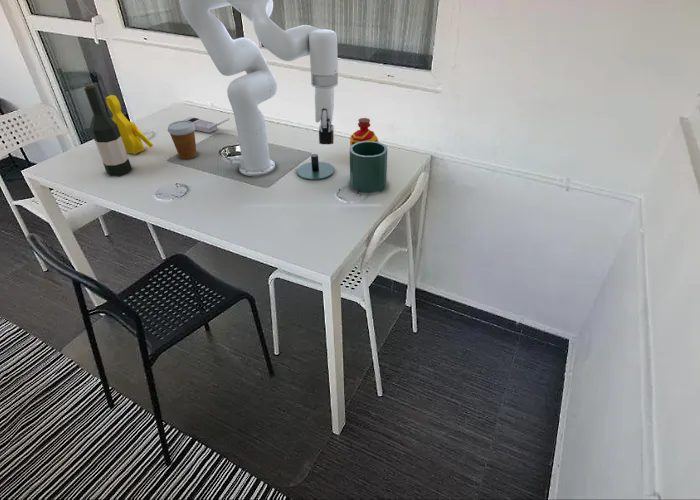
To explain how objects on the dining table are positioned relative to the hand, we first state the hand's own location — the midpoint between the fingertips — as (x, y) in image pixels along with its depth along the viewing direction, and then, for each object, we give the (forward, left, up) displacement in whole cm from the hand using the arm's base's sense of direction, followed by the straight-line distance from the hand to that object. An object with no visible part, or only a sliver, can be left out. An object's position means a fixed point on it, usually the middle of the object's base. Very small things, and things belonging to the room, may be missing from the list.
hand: (326, 139), depth 137 cm
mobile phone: (-54, +52, -14) cm, 76 cm away
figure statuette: (-76, +31, -18) cm, 84 cm away
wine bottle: (-75, +15, -18) cm, 79 cm away
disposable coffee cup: (-54, +27, -18) cm, 63 cm away
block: (0, 0, 0) cm, 0 cm away
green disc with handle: (-5, +12, -17) cm, 21 cm away
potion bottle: (+12, +22, -18) cm, 30 cm away
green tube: (+13, +3, -17) cm, 22 cm away
